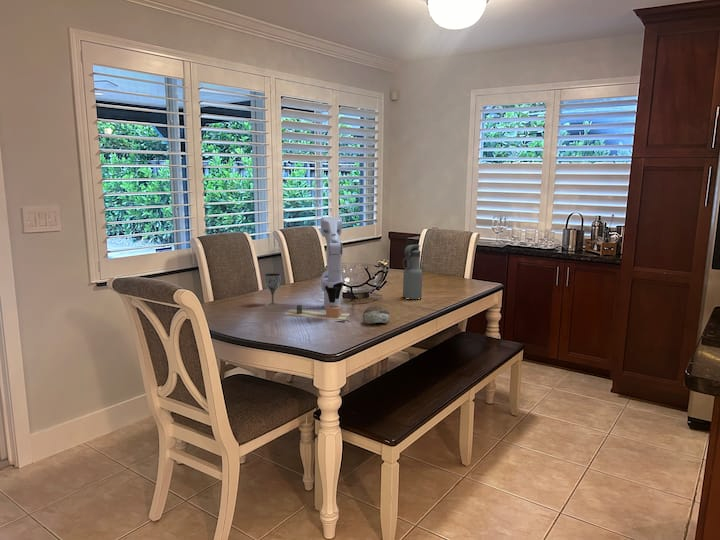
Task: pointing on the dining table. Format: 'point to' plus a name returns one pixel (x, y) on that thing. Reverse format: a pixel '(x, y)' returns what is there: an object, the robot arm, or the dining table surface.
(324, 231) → the robot arm
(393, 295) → the dining table surface
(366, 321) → the grey rounded lump
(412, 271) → the water bottle
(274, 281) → the wine glass
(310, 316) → the board
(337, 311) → the collar
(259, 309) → the dining table surface
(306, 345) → the dining table surface
